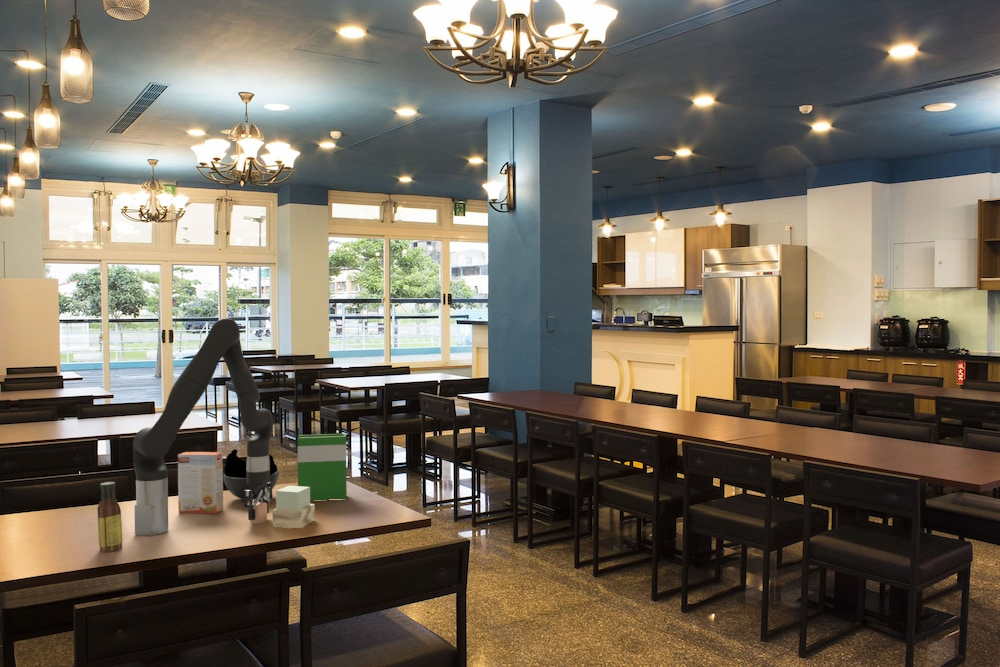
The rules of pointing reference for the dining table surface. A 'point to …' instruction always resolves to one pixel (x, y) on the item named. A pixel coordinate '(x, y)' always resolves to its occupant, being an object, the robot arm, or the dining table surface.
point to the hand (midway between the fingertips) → (258, 516)
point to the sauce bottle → (109, 519)
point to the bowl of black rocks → (243, 474)
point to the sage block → (292, 498)
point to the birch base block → (293, 517)
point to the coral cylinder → (260, 513)
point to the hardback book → (323, 465)
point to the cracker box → (200, 482)
